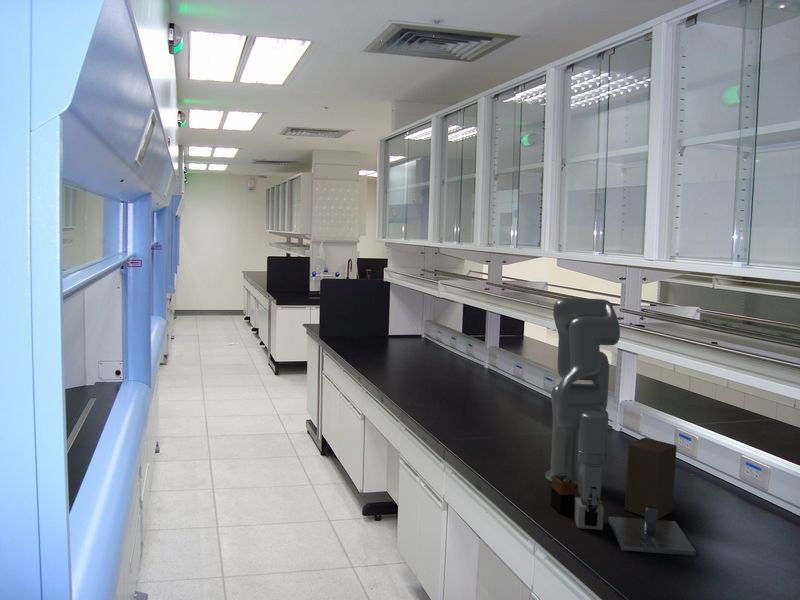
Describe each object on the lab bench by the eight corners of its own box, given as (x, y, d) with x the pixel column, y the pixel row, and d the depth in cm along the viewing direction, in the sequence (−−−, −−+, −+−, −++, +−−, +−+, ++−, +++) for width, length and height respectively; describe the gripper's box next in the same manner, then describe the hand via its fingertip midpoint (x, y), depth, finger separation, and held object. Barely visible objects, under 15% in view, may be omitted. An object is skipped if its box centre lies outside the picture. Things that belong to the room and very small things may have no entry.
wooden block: (672, 512, 200) (677, 445, 198) (656, 521, 193) (661, 452, 191) (640, 501, 207) (644, 436, 205) (623, 510, 200) (627, 443, 198)
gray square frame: (574, 517, 194) (575, 495, 193) (598, 519, 193) (599, 497, 192) (577, 527, 187) (578, 504, 187) (602, 529, 186) (604, 506, 186)
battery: (563, 504, 203) (565, 471, 202) (574, 513, 197) (576, 479, 196) (549, 505, 202) (551, 472, 201) (560, 514, 196) (562, 480, 195)
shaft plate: (608, 520, 192) (610, 493, 192) (674, 525, 191) (676, 497, 190) (621, 550, 175) (623, 520, 174) (695, 555, 173) (697, 525, 172)
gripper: (573, 446, 197) (570, 506, 199) (582, 466, 180) (579, 532, 182) (600, 447, 196) (596, 508, 198) (612, 468, 179) (608, 534, 181)
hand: (588, 519), depth 190 cm, fingers closed on gray square frame, 6 cm apart
